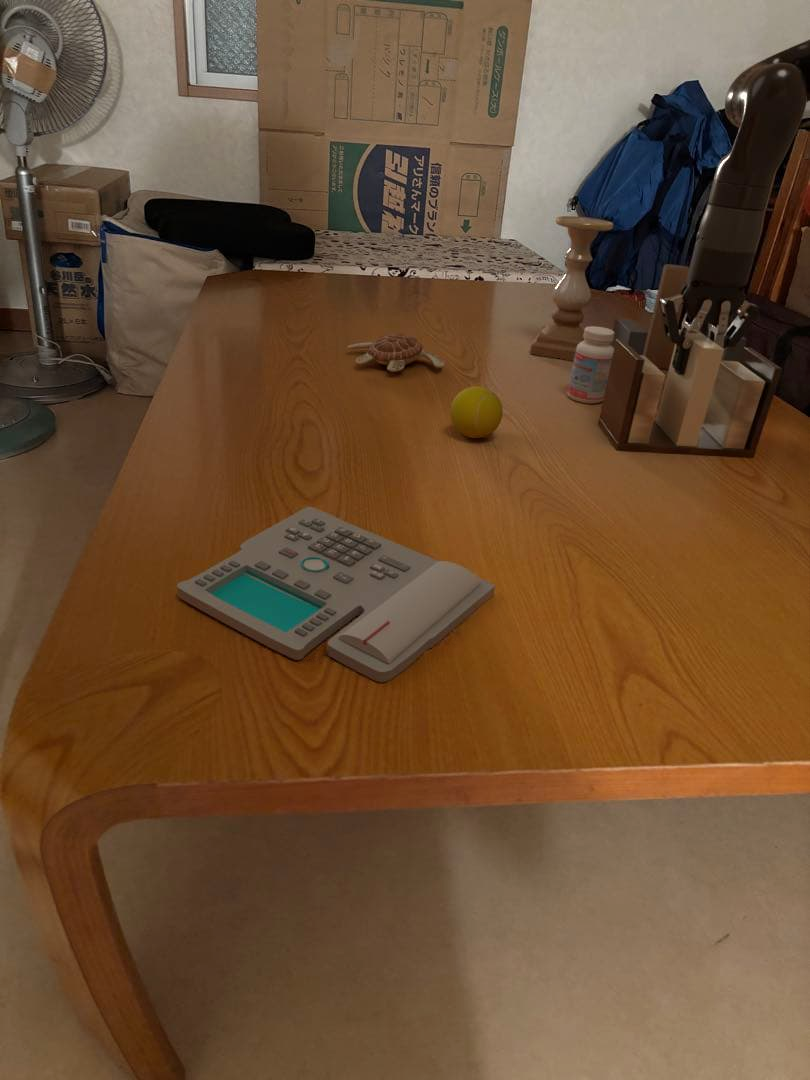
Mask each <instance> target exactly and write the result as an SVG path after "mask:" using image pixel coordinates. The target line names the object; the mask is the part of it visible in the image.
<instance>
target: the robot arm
mask: <svg viewBox="0 0 810 1080" xmlns="http://www.w3.org/2000/svg"><path fill="white" fill-rule="evenodd" d="M809 102H810V38H809V39H808V40H805V41H803V42H801V43H798V44H796V45H793V46H791V47H789V48H787V49H784V50H782V51H780V52H777V53H775V54H773V55H771V56H768V57H766V58H763V59H762V60H760V61H758V62H756V63H754V64H753V65H751V66H749V67H748V68H746V69H745V70H743V71H742V72H741V73H740V74H739V75H738V76H736V78H735V79H734V80H733V81H732V83H731V85H730V86H729V88H728V89H727V93H726V96H725V100H724V111H725V114H726V117H727V119H728V121H729V122H730V123H731V124H732V125H733V126H734V127H736V128H738V132H737V135H736V138H735V140H734V143H733V146H732V149H731V150H730V152H729V153H727V154H726V155H724V156H723V157H722V158H721V159H720V160H719V162H718V164H717V167H716V169H715V172H714V176H713V181H712V184H711V189H710V192H709V197H708V201H707V204H706V207H705V211H704V213H703V216H702V218H701V220H700V223H699V228H698V231H697V233H696V237H695V240H696V241H695V244H694V248H693V252H692V256H691V259H690V260H691V261H690V264H689V272H688V276H687V282H686V284H685V286H684V287H683V289H682V290H681V292H680V294H678V295H675V296H673V297H670V298H667V297H662V298H661V299H660V300H659V304H660V309H661V315H662V320H663V326H664V331H665V336H666V338H668V339H669V340H670V341H671V342H673V343H675V344H676V350H675V354H674V358H673V362H672V367H673V368H674V369H675V372H676V373H677V374H678V375H684V373H685V370H686V366H687V362H688V358H689V354H690V351H691V349H689V348H690V347H691V345H692V343H693V340H694V338H695V336H696V334H697V333H698V332H701V331H700V330H701V328H702V327H703V325H706V324H707V330H708V329H709V337H708V338H709V339H711V340H712V341H713V342H715V343H716V344H718V345H719V346H720V347H722V348H726V347H729V346H730V347H735V346H736V345H737V343H738V342H739V341H740V339H741V338H742V337H744V335H745V334H746V332H747V331H748V330H749V329H750V327H751V326H752V324H753V323H754V322H755V321H756V319H757V318H758V317H759V315H760V313H761V311H762V309H761V308H760V307H759V306H757V304H755V303H752V302H749V301H748V300H746V294H745V288H746V286H747V283H748V281H749V278H750V274H751V272H752V271H751V270H752V267H753V265H754V264H753V263H754V259H755V257H756V254H757V249H758V246H759V243H760V239H761V237H762V232H763V227H764V221H765V216H766V210H767V207H768V203H769V200H770V197H771V193H772V189H773V186H774V182H775V178H776V174H777V171H778V169H779V167H780V165H781V164H782V162H783V161H784V158H785V156H786V154H787V153H788V150H789V149H790V146H791V144H792V142H793V140H794V139H795V136H796V134H797V131H798V129H799V127H800V125H801V123H802V120H803V117H804V114H805V111H806V108H807V103H809ZM681 303H682V304H683V309H684V312H685V315H684V317H683V319H682V322H681V327H679V324H678V323H677V317H676V313H677V312H678V311H679V307H680V304H681ZM736 311H737V312H736ZM734 313H736V314H737V315H736V317H735V318H734V319H733V321H732V322H731V324H730V325H729V318H730V317H731V316H732V315H733V314H734ZM728 325H729V326H728ZM727 327H729V328H728V329H727ZM679 328H680V329H679ZM679 330H680V333H679Z"/></svg>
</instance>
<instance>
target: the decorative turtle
mask: <svg viewBox="0 0 810 1080" xmlns="http://www.w3.org/2000/svg"><path fill="white" fill-rule="evenodd" d="M423 347H424V346H423V344H422V343H421V342H419V339H418V338H416V336H415V337H414V336H410V335H408V334H404V333H401V332H398V333H397V332H396V333H395V332H394V333H389V334H384V335H382V336H380V337H379V338H378V339H376V340H374V341H365V342H359V343H354V344H349V345H348V346H346V348H347V349H348V350H351V351H352V350H361V349H367V350H366V353H364V354H362V355H359V356H358V357H357V358H356V359H355V364H357V365H359V366H360V365H363V364H367V363H368V362H370V361H375V362H377V363H379V364H380V365H385V366H387V368H386V369H387V371H388V372H391V373H394V372H400V371H402V370H404V368H405V367H406V365H408V364H411V363H412V362H415V361H417V360H418V359H419V358H421V357H423V358H425V359H427V360H428V361H430V363H432V364H433V366H434V368H435V369H440V368H443V367H444V366H445V361H444V360H443V359H442V357H441V356H439V355H437V354H434V353H433V352H431V351H428V350H426V349H424V348H423Z"/></svg>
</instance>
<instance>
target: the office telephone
mask: <svg viewBox="0 0 810 1080" xmlns="http://www.w3.org/2000/svg"><path fill="white" fill-rule="evenodd" d="M176 585H177V586H176V588H177V597H178V598H179V599H180V600H182V601H184V602H186V603H187V604H189V605H191V606H192V607H195V608H196V609H198V610H200V611H201V612H203V613H205V614H208V615H209V616H210V617H212V618H214V619H215V620H218V621H219V622H221V623H223V624H225V625H227V626H229V627H230V628H233V629H234V630H235V631H238V632H240V633H241V634H244V635H246V636H247V637H249V638H251V639H253V640H255V641H257V642H258V643H260V644H262V645H264V646H266V647H267V648H269V649H271V650H273V651H275V652H277V653H279V654H282V655H284V656H286V657H288V658H289V659H291V660H295V661H300V660H302V659H304V658H305V656H306V655H308V653H309V652H310V651H312V650H313V649H315V648H316V647H317V646H319V645H320V644H321V643H322V642H324V641H325V640H326V639H328V638H329V637H331V636H332V635H333V634H334V633H336V632H337V631H338V633H336V634H335V635H334V636H332V637H331V638H330V639H329V640H328V641H327V645H326V654H327V656H329V658H332V659H333V660H335V661H337V662H338V663H340V664H341V665H344V666H346V667H347V668H350V669H352V670H353V671H356V672H357V673H359V674H361V675H363V676H365V677H367V678H369V679H370V680H373V681H375V682H378V683H385V682H389V681H391V680H393V679H394V678H395V677H396V676H398V675H399V674H400V673H402V672H404V671H405V669H407V668H408V667H409V666H411V665H412V664H413V663H415V662H416V661H417V660H418V659H419V658H420V657H422V655H423V654H424V653H426V651H428V650H429V649H430V650H431V649H432V648H433V647H434V646H436V645H437V644H438V643H439V642H441V641H442V640H443V639H445V637H446V636H447V635H449V634H450V633H451V632H453V630H455V628H457V627H458V626H459V625H460V624H462V623H463V622H464V621H465V620H466V619H467V618H469V617H470V616H471V615H472V614H473V613H474V612H475V611H477V610H479V608H480V607H481V606H482V605H484V604H485V603H486V602H488V600H490V599H491V598H492V597H494V595H495V589H496V585H495V584H494V583H492V582H490V581H488V580H485V579H483V578H481V577H478V576H477V575H476V574H475V572H473V571H471V570H470V569H468V568H466V567H465V566H463V565H460V564H457V563H454V562H451V561H447V560H438V559H436V558H433V557H430V556H428V555H426V554H424V553H421V552H419V551H417V550H414V549H411V548H409V547H406V546H404V545H402V544H399V543H397V542H395V541H393V540H390V539H387V538H386V537H383V536H381V535H378V534H375V533H373V532H371V531H369V530H366V529H363V528H361V527H359V526H356V525H354V524H351V523H350V522H347V521H344V520H342V519H340V518H338V517H337V516H335V515H332V514H331V513H328V512H326V511H323V510H321V509H318V508H316V507H313V506H311V505H310V506H306V507H304V508H302V509H300V510H299V511H297V512H295V513H293V514H291V515H289V516H288V517H286V518H284V519H282V520H281V521H279V522H276V523H274V524H273V525H271V526H270V527H268V528H266V529H265V530H262V531H261V532H259V533H257V534H255V535H254V536H252V537H249V538H248V539H247V540H245V541H244V542H242V543H241V544H240V546H239V550H238V551H237V552H236V553H234V554H233V555H230V556H229V557H227V558H225V559H224V560H221V561H220V562H219V563H216V564H215V565H213V566H211V567H209V568H208V569H206V570H205V571H202V572H200V573H199V574H197V575H194V576H193V577H191V578H188V579H187V580H183V581H179V582H178V583H177V584H176ZM357 616H358V617H357ZM350 621H352V622H350ZM348 623H349V624H348ZM347 624H348V625H347ZM345 625H347V626H345ZM344 626H345V627H344ZM342 627H344V628H342ZM341 628H342V629H341ZM340 629H341V630H340ZM339 630H340V631H339Z"/></svg>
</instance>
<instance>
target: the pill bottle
mask: <svg viewBox="0 0 810 1080" xmlns="http://www.w3.org/2000/svg"><path fill="white" fill-rule="evenodd" d="M583 330H584V334H583V336H584V337H583V338H584V341H582V342H580V343H579V344H578V345H577V348H576V352H575V357H574V361H572V367H571V372H570V378H569V383H568V388H567V396H568V397H569V398H570V399H571V400H573V401H576V402H577V403H581V404H588V405H592V404H593V405H594V404H599V403H603V399H604V394H605V390H606V385H607V380H608V376H609V371H610V366H611V362H612V357H613V352H614V348H613V347H612V346H611V345H610V343H611V342H612V341H613V337H614V331H613V329H610V328H607V327H602V326H593V325H591V326H586V327H585V328H584V329H583Z"/></svg>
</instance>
